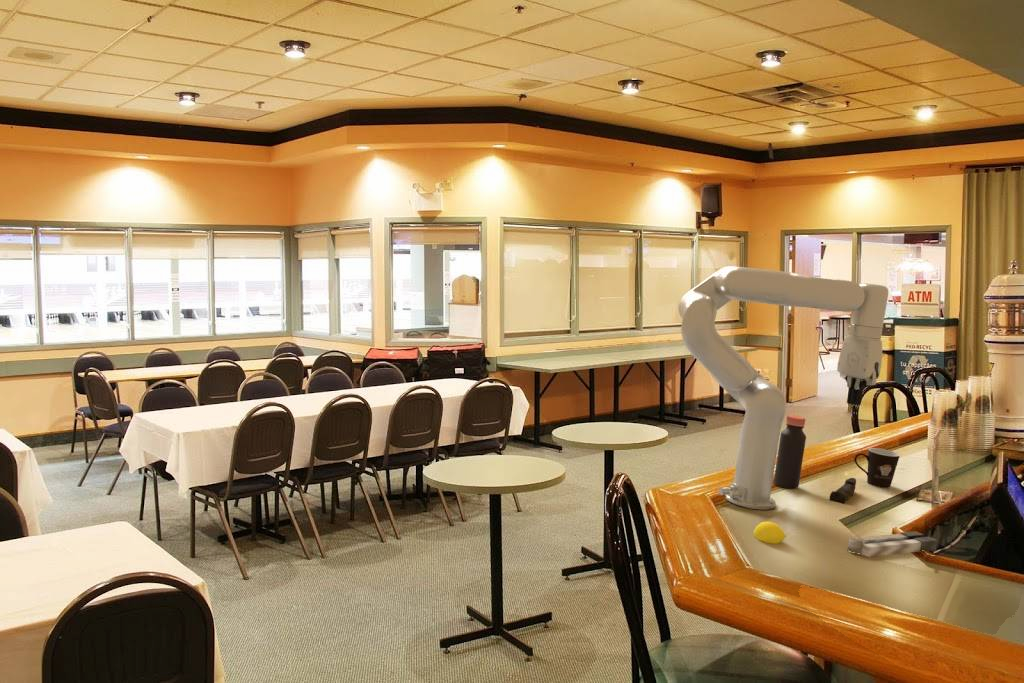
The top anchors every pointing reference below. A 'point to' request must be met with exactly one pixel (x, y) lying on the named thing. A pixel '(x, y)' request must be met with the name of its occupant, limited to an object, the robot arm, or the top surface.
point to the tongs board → (892, 546)
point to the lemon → (769, 533)
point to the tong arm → (891, 537)
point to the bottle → (790, 453)
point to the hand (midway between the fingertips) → (853, 403)
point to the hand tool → (844, 491)
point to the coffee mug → (880, 466)
